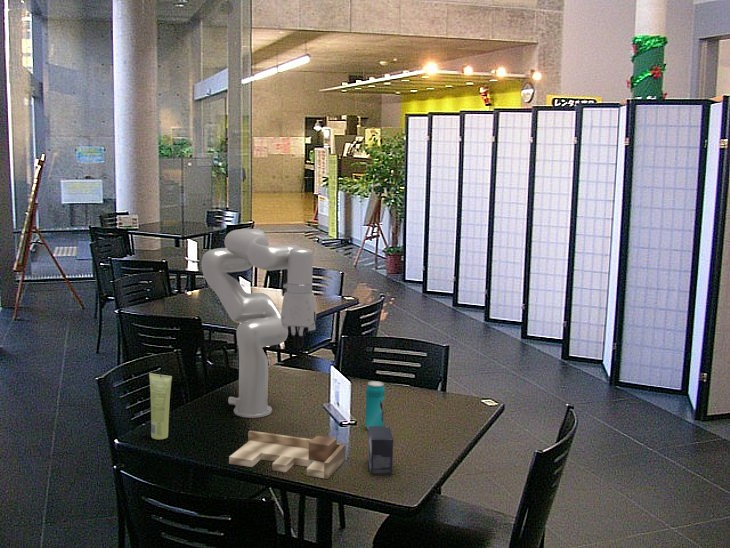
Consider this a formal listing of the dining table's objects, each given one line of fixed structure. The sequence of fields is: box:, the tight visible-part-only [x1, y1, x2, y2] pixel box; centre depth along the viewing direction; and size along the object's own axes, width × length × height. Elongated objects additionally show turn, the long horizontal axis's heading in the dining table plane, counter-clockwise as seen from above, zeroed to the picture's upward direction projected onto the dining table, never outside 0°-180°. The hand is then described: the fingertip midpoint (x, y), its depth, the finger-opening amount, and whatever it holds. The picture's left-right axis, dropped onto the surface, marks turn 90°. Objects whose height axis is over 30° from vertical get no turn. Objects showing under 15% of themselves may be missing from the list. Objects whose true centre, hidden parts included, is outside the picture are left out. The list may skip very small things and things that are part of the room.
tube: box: [148, 372, 173, 440], centre depth 244 cm, size 6×5×20 cm
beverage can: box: [365, 380, 386, 431], centre depth 258 cm, size 6×6×15 cm
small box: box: [367, 425, 395, 476], centre depth 228 cm, size 11×6×10 cm, turn 5°
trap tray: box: [228, 430, 347, 480], centre depth 230 cm, size 30×15×4 cm, turn 74°
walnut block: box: [308, 435, 338, 462], centre depth 228 cm, size 6×6×5 cm
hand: (298, 347), depth 250 cm, fingers closed
